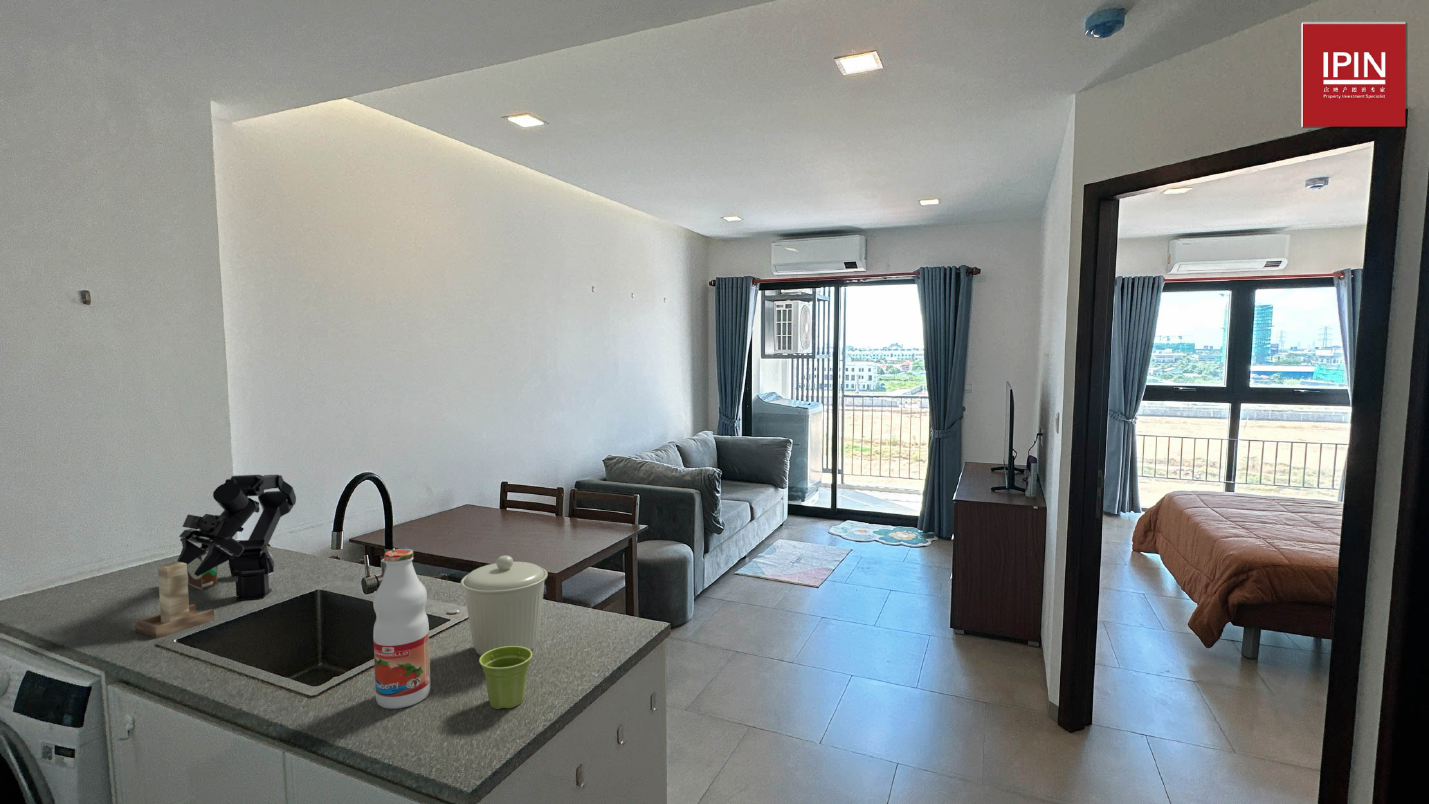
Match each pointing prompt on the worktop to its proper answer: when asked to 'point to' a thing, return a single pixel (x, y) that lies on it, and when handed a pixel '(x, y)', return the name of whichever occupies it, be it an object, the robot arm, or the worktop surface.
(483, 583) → the canister
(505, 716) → the worktop surface
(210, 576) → the food container
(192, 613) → the walnut rack
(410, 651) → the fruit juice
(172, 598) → the birch peg
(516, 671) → the plant pot
